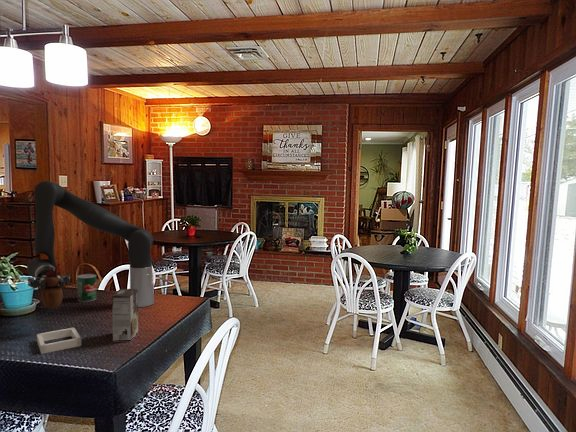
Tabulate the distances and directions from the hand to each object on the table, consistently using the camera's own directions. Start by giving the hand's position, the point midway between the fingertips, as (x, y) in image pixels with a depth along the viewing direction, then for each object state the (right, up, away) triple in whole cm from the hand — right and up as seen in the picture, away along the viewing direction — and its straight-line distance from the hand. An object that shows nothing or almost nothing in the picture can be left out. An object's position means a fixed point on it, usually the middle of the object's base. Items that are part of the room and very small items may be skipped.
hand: (52, 285), depth 142 cm
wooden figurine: (-2, -8, +3) cm, 9 cm away
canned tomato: (-9, -14, +43) cm, 47 cm away
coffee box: (+25, -18, +1) cm, 31 cm away
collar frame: (+6, -18, -6) cm, 20 cm away
